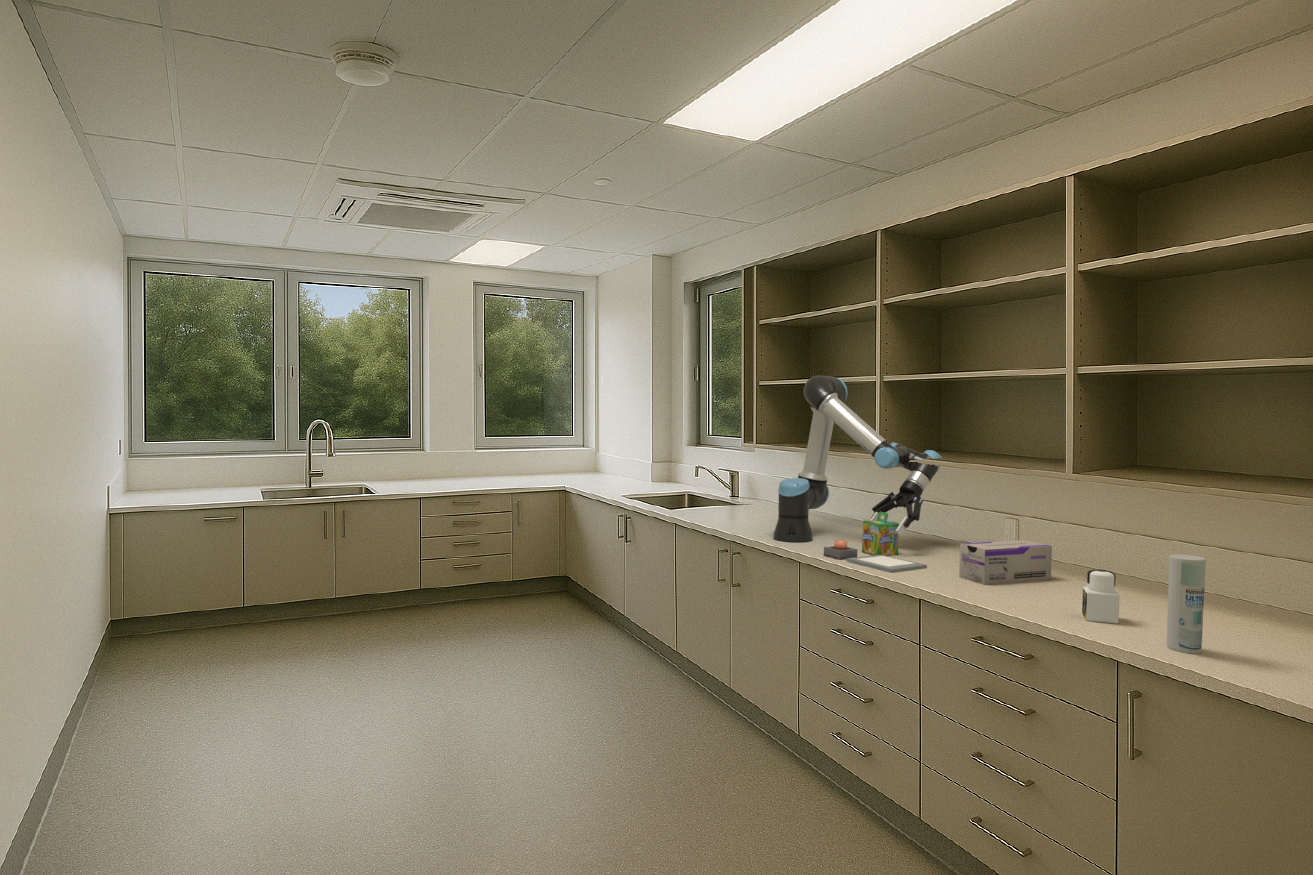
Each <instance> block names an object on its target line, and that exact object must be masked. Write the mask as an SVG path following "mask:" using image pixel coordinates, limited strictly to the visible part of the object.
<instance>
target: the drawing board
mask: <svg viewBox="0 0 1313 875" xmlns="http://www.w3.org/2000/svg"><path fill="white" fill-rule="evenodd" d="M847 561H848V562H847ZM845 562H847V563H850V564H851V563H852V564H856V565H860V566H864V567H867V566H868V568H871V569H876V570H880V571H884V572H887V573H899V572H905V571H915V570H921V569H927V568H928V565H927V564H924V563H922V562H921V563H919V562H915V561H912V560H911V561H910V560H906V559H902V558H896V557H893V556H885V555H865V556H857V557H854V558H846V559H845Z"/></svg>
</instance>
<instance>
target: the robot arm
mask: <svg viewBox="0 0 1313 875" xmlns="http://www.w3.org/2000/svg"><path fill="white" fill-rule="evenodd" d="M845 383H846V382H844V381H843V380H842V379H840V378H839V377H836V376H831V375H830V376H829V375H821V374H819V375H813V376H812V377H810V378H809V379H808V380H806V382H805V384H804V387H803V396H804V398H805V400H806V401H807V403H808V404H809V405H810V409H811V411H812V413H813V414H812V418H811V419H812V420H811V425H810V430H809V434H808V435H809V436H808V441H807V447H806V451H805V452H806V453H805V459H804V465H803V469H802V470H801V471H800V472H799V473H798V475H797V477H794V478H786V479H783V480H781V481H780V482H779V484H778V490H777V491H778V516H777V517H778V518H777V522H776V525H775V528H774V531H773V539H774V540H776V541H780V542H781V541H782V542H788V543H789V542H790V543H805V542H812V541H813V540H814V539H813V532H812V527H811V524H810V521H809V515H810V514H809V510H815V509H818V508H821V507H822V506H824V505H825V504H826V503H827V501H828V499H829V497H830V490H829V487H828V478H827V476H826V475H825V474H826V468H827V462H828V458H829V452H830V451H829V450H830V445H831V440H832V434H833V430H834V425H835V424H836V425H837V426H838V427H839V428H840V429H841V430H842V431H844V432H845V433H846V434H847V435H849V437H850V438H852V439H853V441H855V442H856V443H857V444H858V445H859V446H861V448H863V449H864V450H865V451H866V452H867V453H868V454H869V455H870V456H871V457H873V459H874V461H875V464H876V465H877V466H878V467H879V468H881V469H885V470H889V469H890V470H891V469H894V468H902V469H905V470H908V471H910V472H909V474H907V477H906V478H905V480H904V481H903V482H902V484H901V485H900V487H899V491H898V493H897V494H894V492H893V491H892V492H890V493H889V494H888V495H887V496H886V497H885V498H883V499H882V500H881V501H880V502H879V503H877V504H876V505H874V506H873V507H872V508H871V510H872V511H873V514H872V516H871V517H870V520H877V518H878V514H879V512H885V513H888V512H889V511H891V510H892V509H895V508H896V509H897V508H904V509H905V510H906V514H907V515H906V516H904V518H902V521H901V522H900V523H899V526H898V528H897V529H896V532H897V533H898V534H899V536H901V537H902V535H903V534H904V532H905V531H906V529H908V528H909V527H910V525H911V524H912V522H914V521H916V522H918V521H919V520H920V518H921V510H922V504H923V502H924V500H923V498H922V497H921V496H922V494H923V492H924V491H925V490H926V488H927V487H928V486H929V483H930V482H931V480H932V479H933V478H934V477H935V475H936V474H937V472H938V471H939V469H940V468H941V466H935V465H929V464H923V463H918V462H909V461H910V460H927V459H937V458H942V456H941V455H940V454H939V453H938V452H936V451H935V450H932V449H931V450H930V449H927V450H925V451H924V452H923V453H922V452H919V451H916V450H914V449H911V448H909V447H907V446H904V445H903V444H900V443H897V442H888V441H887V440H886V439H885V438H884V437H882V435H881V434H879V433H878V432H877V431H876V430H875V429H874V428H872V427H871V426H870V425H869V423H867V422H866V421H865V420H863V419H862V418H861V417H860V416H859V415H858V414H857V413H856V412H855V411H853V410H852V409H851V408H850V407H849V406H847V404H845V402H846V400H847V398H848V393H849V392H848V387H847V385H846V384H845ZM942 459H943V458H942ZM880 518H881V519H882V516H881V517H880Z"/></svg>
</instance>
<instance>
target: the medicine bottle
mask: <svg viewBox="0 0 1313 875" xmlns="http://www.w3.org/2000/svg"><path fill="white" fill-rule="evenodd" d="M1086 575H1087V581H1086V585H1085V586H1082V602H1081V604H1082V605H1081V606H1082V607H1081V614H1082V616H1083V618H1084V620H1085V621H1087V622H1095V623H1107V624H1115V625H1117V624H1119V620H1120V600H1121V599H1120V598H1121V597H1120V594H1119V593H1118V592H1117V590H1116V579H1117V576H1116V574H1115V573H1114V572H1113V571H1111V570H1106V569H1097V568H1095V569H1091V570H1089V571H1087V574H1086Z"/></svg>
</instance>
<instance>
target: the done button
mask: <svg viewBox="0 0 1313 875" xmlns="http://www.w3.org/2000/svg"><path fill="white" fill-rule="evenodd" d="M833 543H834V545H833V546H834V549H837V550H847V547H848V541H847V540H845V539H836V540H834V541H833Z"/></svg>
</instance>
